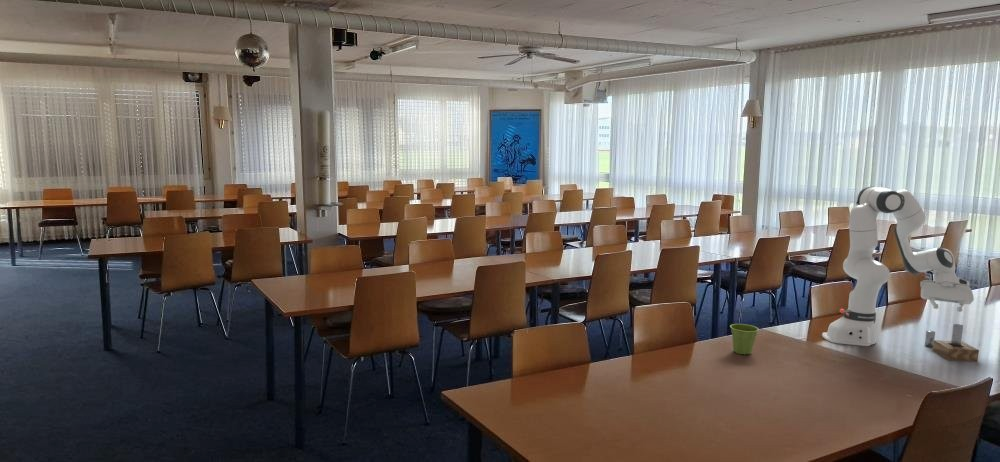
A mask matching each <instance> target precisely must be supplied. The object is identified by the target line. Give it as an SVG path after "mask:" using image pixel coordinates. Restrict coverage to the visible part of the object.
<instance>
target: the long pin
mask: <svg viewBox="0 0 1000 462" xmlns="http://www.w3.org/2000/svg"><path fill="white" fill-rule="evenodd" d="M963 331H964V325H962V324H959V323H953V326H952V334H951V340H950V341H951V346H953V347H961V341H962V340H963V339H962V337H963Z"/></svg>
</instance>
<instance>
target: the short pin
mask: <svg viewBox="0 0 1000 462" xmlns="http://www.w3.org/2000/svg"><path fill="white" fill-rule="evenodd" d="M924 337H925V338H924V346H925V347H926V348H933V343H934V340H936V331H934V330H930V329H929V330H927V329H926V331H925V336H924Z"/></svg>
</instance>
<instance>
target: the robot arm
mask: <svg viewBox="0 0 1000 462" xmlns="http://www.w3.org/2000/svg"><path fill="white" fill-rule="evenodd" d="M856 199H857V200H856V204H855V206H853V207H852V208H851V209H850V213H849V221H848V224H849V225H848V227H849V228H848V231H849V251H848V255H847V257H846V258H845V259H844V261H843V263H842V269H843V272H845V274H847V276H849V277H851V278H853V279H854V280H856V281H857V282H856V285H855V287H854V288H853V289H852V290H851V291H850V292H849V296H848V297H849V298H848V308H847V309H844V308H840V309H839V312H840V313H841V314H842V315H843V316H841V317H840V318H838V319H836V320H834V321H833V322H831V323H829V326H828V328H827V332H825V331H824V332H822V334H821V337H822V338H823V339H825V340H826V341H828V342H830V343H833V344H839V345H840V344H841V345H842V344H843V345H851V346H852V345H853V346H862V347H870V346H871V345H875V344H876V343H877V341H876V335H875V323H876V320H877V312H876V307H877V299H878V296H879V295H878V294H879V293H880V291H881V288H882V286H883V285H884V284H886V283H887V282H888V281H889V279H890V277H891V272H890V269H889V268H888V267H887V266H886V265H885V264H883V263H882V262H880V261H877V260H875V259H873V253H874V251H875V249H876V248H877V246H878V244H879V242H878V241H879V240H878V226H877V218H878V215H879V213H884V214H892V215H893V216H894V218H895V219H896V225H895V226H894V236H895V239H896V243H897V246H898V249H899V252H900V256H901V259H902V263H903V267H904V269H905V271H906V272H907V273H910V274H912V275H919V274H921V273H926V272H931V271H933V280H928V279H923V280H921V281H920V282H919V287H920V298H921V299H923V300H927V301H928V300H929V302H930V304H931V305H932V308H933V309H935V310H938V309H939V303H936V301H937V302H944V303H945V302H947V303H953V304H959V306H957V309H956V311H957V312H959V313H962V312H963V307H964V306H965V305H971V304H972V303H973V302H974V300H975V299H974V294H973V290H972V288H971V287H970V281H968V280H967V279H963V278H961V277H958V276H957V273H956V261H955V256H954V254H953V252H952V251H951V250H950V249H947V248H942V247H934V248H929V249H925V250H921V251H920V250H919V251H913V250H912V249H913V248H912V247H911V244H910V240H909V236H911V235H912V234H914V233H916V231H918V230H919V229H921V228H922V227H923V225H924V223H925V222H926V214H925V212H924V210H923V208H922V206H921V205H920V203H919V202H918V200H917V198H916V197H915V196H914V195H913V194H912V192H910V191H909V190H906V189H899V190H894V189H891V188H890V189H889V188H885V187H882V186H881V187H880V186H867V187H864V188H862V189H861V190H860V191H859V193H858V195H857V198H856Z"/></svg>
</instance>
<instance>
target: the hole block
mask: <svg viewBox="0 0 1000 462" xmlns="http://www.w3.org/2000/svg"><path fill="white" fill-rule="evenodd" d="M932 352H934V353H935V354H937V355H938V356H940V357H942V358H943V359H945V360H947V361H958V362H959V361H963V362H964V361H965V362H977V361H979V352H980V350H979V349H978V348H976V347H974V346H972V345H970V344H968V343H966V342H964V341H962V340H961V347H953V346H951V340H939V339H938V340H937V339H935V340H934V343H933V347H932Z"/></svg>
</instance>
